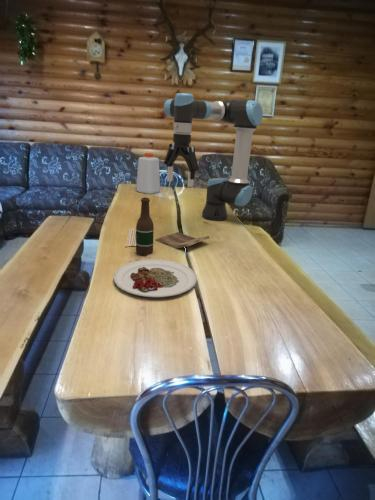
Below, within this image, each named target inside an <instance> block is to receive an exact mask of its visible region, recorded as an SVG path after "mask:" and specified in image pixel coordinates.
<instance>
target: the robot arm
mask: <svg viewBox="0 0 375 500" xmlns="http://www.w3.org/2000/svg"><path fill="white" fill-rule="evenodd" d="M163 111H164V112H163V113H164V114H165V115H166V116H167V117H169V118H173V132H174V133H173V135H172V142H173V143H169V144H168V149H167V153H166V155H165V159H164V161H163V165H165V166H166V175H167V176H166V178H167V179H166V181H167V182H173V180H174V163H175V162H176V160H177V159H178V157H180V158H181V157H182V158H183V159H184V161H185V163H186V166H187V167H188V172H187V186H186V187H188V188H191V187H194V182H195V181H194V180H195V176H196V172H197V171H199V170H200V167H199V164H198V159H197V156H196V148H195V146H190V145H191V142H192V141H191V140H192V135H191V134H192V126H193V124H192V123H193V120H202V121H203V120H207V119H212V120H213V121H217V122H223V123H227V124H233V128H234V130H235V141H234V142H235V143H234V149H233V150H234V151H233V158H232V166H231V167H232V168H231V176H230V178H228V177H227V178H226V177H218V178H217V177H215V178H209V179H208V180H207V185H206V196H205V197H206V200H205V204H204V207H203V210H202V212H201V217H202V218H203V219H205V220H209V221H219V222H220V221H225V220H227V219H228V211H227V206H226V203H227V204H230V205H234V206H237V207H238V206H239V207H244V206H246V205H247V204H248V203H249V202H250V200H251V198H252V195H253V188H252V186H250V181H249V180H248V173H249V165H250V159H251V158H250V157H251V152H252V151H251V150H252V143H253V133H254V132H255V131H256V130H257V127H258V126H260V125H261V123H262V121H263V117H264V116H263V115H264V113H263V107H262V104H261V103H260V102H259V101H258V100H251V99H228V100H215V101H213V102H212V101H211V102H209V101H206V100H201V99H200V100H199V99H194V95H193V93H186V92H185V93H183V92H177V93H176V94H175V96H174V98H171V99H167V100H165V101H164V105H163Z"/></svg>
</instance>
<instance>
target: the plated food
mask: <svg viewBox="0 0 375 500" xmlns="http://www.w3.org/2000/svg"><path fill="white" fill-rule="evenodd" d="M112 278H113V282H114V284H115V285H116V286H117V287H118V288H119V289H121V290H122V291H123V292H126V293H128V294H132V295H134V296H140V297H146V298H147V297H148V298H166V297H167V298H168V297H172V296H173V297H175V296H178V295H181V294H183V293H186V292H188V291H189V290H191V289H192V288H193V287H194V286H195V285H196V283H197V274H196V272H195V271H194V270H193V269H192V268H190V267H189V266H187V265H185V264H183V263H180V262H178V261H177V262H176V261H174V260H169V259H168V260H167V259H160V258H159V259H158V258H150V259H147V258H146V259H140V260H134V261H131V262H128V263H126V264H123V265H121V266H120V267H118V268H117V269H116V270H115V272H114V273H113V277H112Z"/></svg>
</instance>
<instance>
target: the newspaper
mask: <svg viewBox="0 0 375 500" xmlns="http://www.w3.org/2000/svg"><path fill="white" fill-rule="evenodd" d="M126 238H127V240H126V244H125V246H124V247H125V248H128V247H136V228H130V229H128V233H127V237H126Z"/></svg>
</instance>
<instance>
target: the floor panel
mask: <svg viewBox="0 0 375 500" xmlns="http://www.w3.org/2000/svg"><path fill="white" fill-rule="evenodd" d="M196 238H197V237H193V236H191V235H188V234H184V233H182V232H180V231H179V232H178V231H177V232H174V233H171V234H169V235H168V234H167V235H164V236H162V237H158V238H155V239H154V241H155V242H158V243H160V244H162V245H165V246H168V247H170V248H173V249H175V248H174V246H176V245H179V244H182V243H185V242H188V241H191V240H193V239H196Z"/></svg>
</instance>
